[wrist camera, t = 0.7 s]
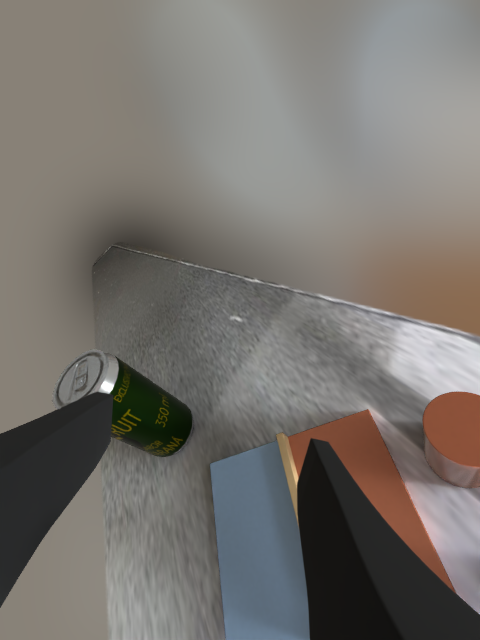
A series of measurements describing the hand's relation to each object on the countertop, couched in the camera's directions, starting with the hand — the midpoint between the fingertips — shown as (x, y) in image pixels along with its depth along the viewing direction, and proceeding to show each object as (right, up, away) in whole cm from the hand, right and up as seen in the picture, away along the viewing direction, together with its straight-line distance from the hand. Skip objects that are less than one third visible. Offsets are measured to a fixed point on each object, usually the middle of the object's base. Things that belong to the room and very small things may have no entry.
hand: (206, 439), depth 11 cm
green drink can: (-5, -7, +20) cm, 22 cm away
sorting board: (+6, -10, +11) cm, 16 cm away
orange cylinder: (+16, -5, +9) cm, 19 cm away
